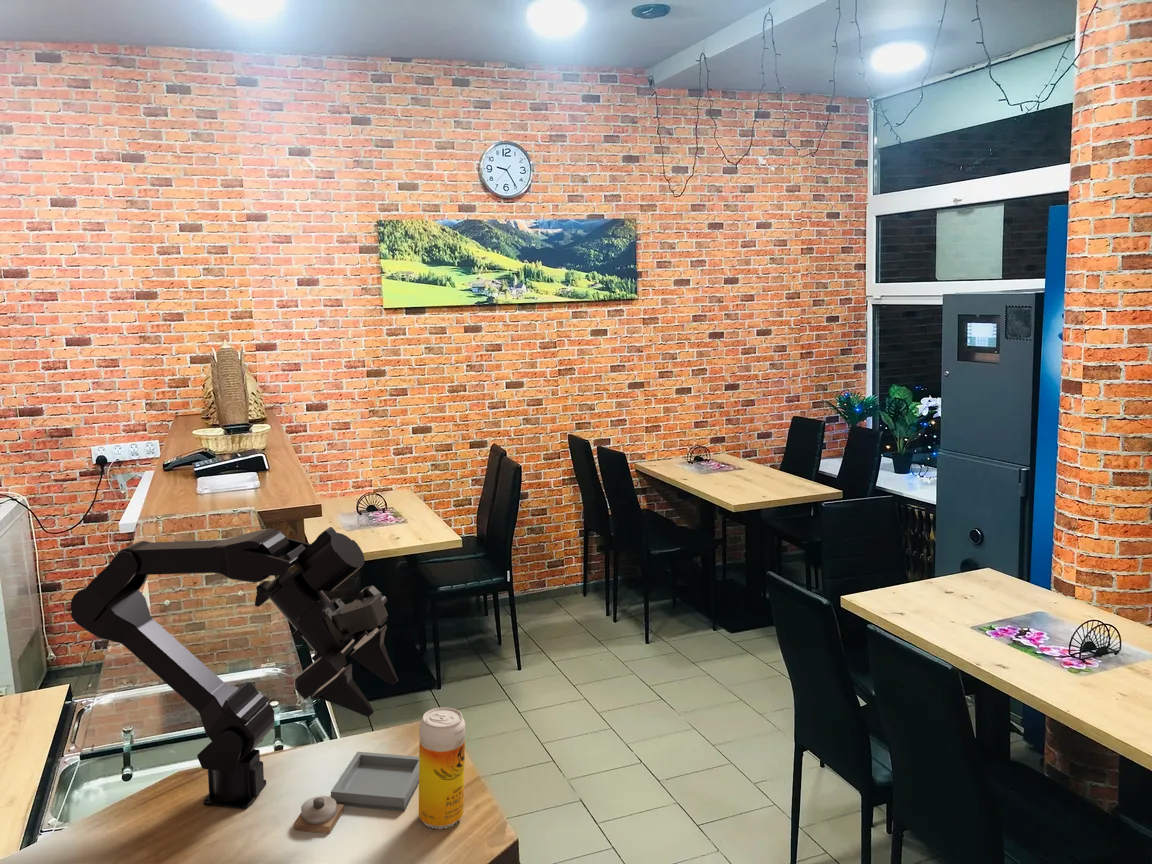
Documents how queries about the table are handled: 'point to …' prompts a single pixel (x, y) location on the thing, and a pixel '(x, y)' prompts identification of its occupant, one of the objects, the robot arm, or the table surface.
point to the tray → (378, 781)
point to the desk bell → (318, 815)
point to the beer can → (441, 767)
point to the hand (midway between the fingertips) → (383, 698)
